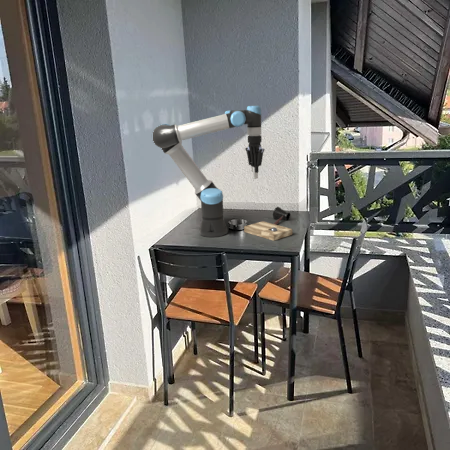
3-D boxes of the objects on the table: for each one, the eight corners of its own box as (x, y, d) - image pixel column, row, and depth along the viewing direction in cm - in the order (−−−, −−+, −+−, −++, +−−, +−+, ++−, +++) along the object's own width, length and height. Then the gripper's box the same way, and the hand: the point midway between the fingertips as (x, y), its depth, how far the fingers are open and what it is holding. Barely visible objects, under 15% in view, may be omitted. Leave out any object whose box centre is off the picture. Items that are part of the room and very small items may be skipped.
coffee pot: (278, 216, 264) (290, 220, 260) (262, 227, 252) (275, 231, 247) (279, 204, 261) (291, 208, 256) (263, 215, 248) (276, 219, 244)
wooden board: (273, 240, 221) (273, 235, 220) (244, 231, 237) (244, 226, 236) (292, 234, 229) (292, 229, 229) (262, 226, 246) (262, 221, 245)
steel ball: (275, 234, 226) (271, 227, 227) (270, 236, 230) (267, 230, 230) (280, 232, 229) (277, 225, 230) (275, 235, 232) (272, 228, 233)
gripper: (268, 135, 235) (268, 178, 241) (251, 134, 244) (252, 176, 251) (257, 136, 230) (258, 180, 237) (241, 135, 240) (242, 177, 246)
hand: (255, 178), depth 244 cm, fingers closed
